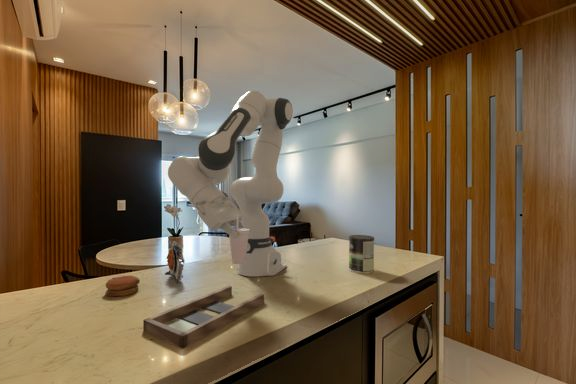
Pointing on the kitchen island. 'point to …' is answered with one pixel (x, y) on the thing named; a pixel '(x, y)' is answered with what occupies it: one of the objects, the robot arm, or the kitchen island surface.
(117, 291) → the burger
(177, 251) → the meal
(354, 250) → the coffee can
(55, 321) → the kitchen island surface
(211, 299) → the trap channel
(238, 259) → the smoothie
